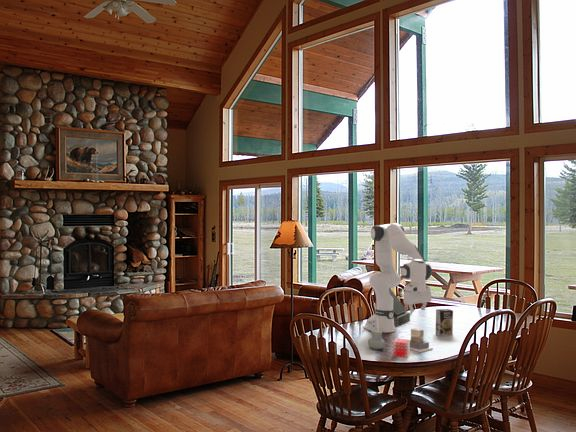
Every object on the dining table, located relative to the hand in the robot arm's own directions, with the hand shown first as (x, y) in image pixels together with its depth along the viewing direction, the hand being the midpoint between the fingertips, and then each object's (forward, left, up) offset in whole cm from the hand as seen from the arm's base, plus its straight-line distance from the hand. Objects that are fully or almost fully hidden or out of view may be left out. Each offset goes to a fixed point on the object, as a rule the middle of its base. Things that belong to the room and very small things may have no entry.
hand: (417, 310), depth 317 cm
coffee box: (-15, +42, -22) cm, 50 cm away
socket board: (0, 0, -22) cm, 22 cm away
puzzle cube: (+5, -18, -22) cm, 29 cm away
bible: (-63, +42, -23) cm, 79 cm away
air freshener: (-12, -21, -22) cm, 33 cm away
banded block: (0, 0, -21) cm, 21 cm away
